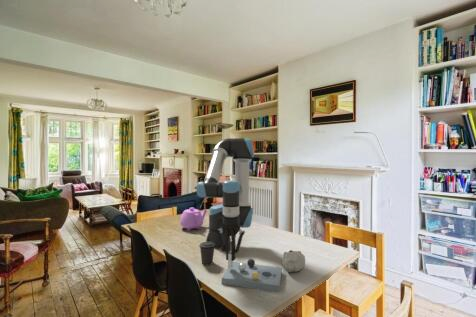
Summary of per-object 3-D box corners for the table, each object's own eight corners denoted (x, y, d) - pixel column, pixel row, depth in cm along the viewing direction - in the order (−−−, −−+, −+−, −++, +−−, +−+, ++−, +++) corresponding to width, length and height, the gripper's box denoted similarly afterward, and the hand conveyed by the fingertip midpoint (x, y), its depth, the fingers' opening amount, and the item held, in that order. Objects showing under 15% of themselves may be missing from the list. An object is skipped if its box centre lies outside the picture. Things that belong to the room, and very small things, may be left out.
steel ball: (237, 272, 107) (237, 264, 107) (239, 268, 111) (239, 261, 111) (245, 273, 107) (245, 265, 107) (246, 269, 110) (246, 262, 110)
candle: (286, 275, 109) (278, 264, 124) (310, 274, 110) (299, 263, 125) (285, 254, 110) (277, 246, 125) (309, 254, 111) (299, 245, 126)
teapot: (213, 229, 176) (213, 208, 176) (187, 234, 165) (187, 212, 165) (201, 222, 192) (201, 203, 192) (177, 227, 181) (177, 206, 181)
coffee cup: (217, 260, 125) (217, 240, 125) (212, 267, 117) (212, 246, 117) (202, 258, 127) (202, 239, 127) (196, 265, 119) (196, 245, 119)
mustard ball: (251, 280, 101) (251, 273, 101) (252, 277, 104) (252, 270, 103) (258, 281, 100) (258, 274, 100) (259, 277, 103) (259, 270, 103)
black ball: (246, 267, 112) (246, 260, 112) (248, 264, 115) (248, 256, 115) (254, 268, 111) (254, 260, 111) (255, 265, 115) (255, 257, 115)
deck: (221, 283, 103) (221, 277, 103) (231, 266, 118) (231, 261, 118) (279, 291, 97) (279, 285, 97) (281, 272, 113) (281, 267, 112)
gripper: (214, 216, 107) (213, 269, 108) (243, 218, 104) (242, 272, 105) (219, 212, 115) (219, 261, 115) (246, 214, 111) (246, 265, 112)
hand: (230, 267), depth 110 cm, fingers closed
